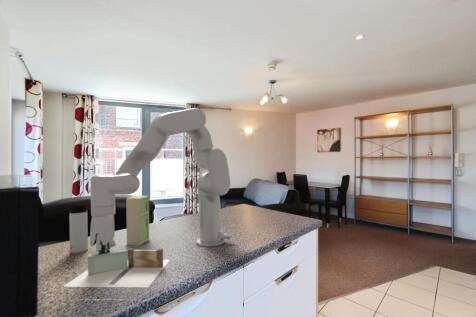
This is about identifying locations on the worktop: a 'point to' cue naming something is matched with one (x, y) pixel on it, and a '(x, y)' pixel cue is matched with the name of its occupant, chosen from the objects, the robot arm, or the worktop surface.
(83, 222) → the travel mug
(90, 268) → the mint green long bar
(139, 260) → the fixed fence section
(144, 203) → the toy refrigerator
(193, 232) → the worktop surface
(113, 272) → the card
